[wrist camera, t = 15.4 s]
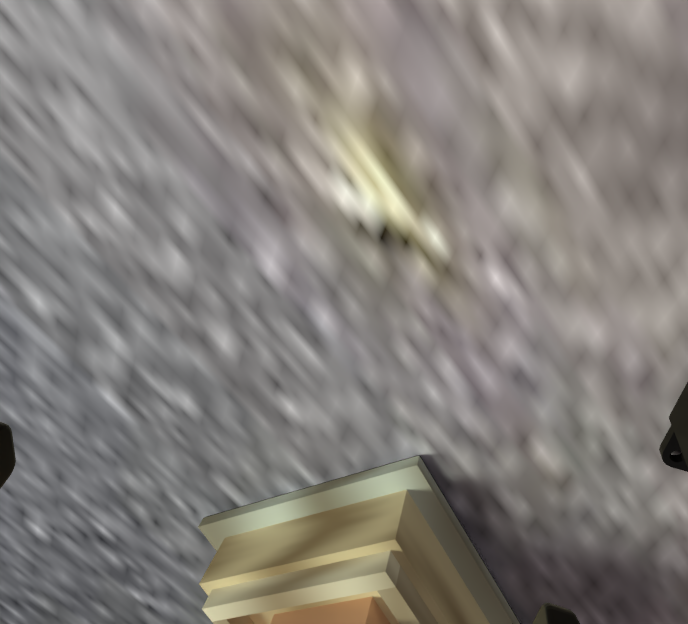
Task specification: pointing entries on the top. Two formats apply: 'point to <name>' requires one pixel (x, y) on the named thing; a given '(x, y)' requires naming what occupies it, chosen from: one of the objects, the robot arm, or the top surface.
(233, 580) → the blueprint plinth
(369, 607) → the column block
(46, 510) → the top surface
